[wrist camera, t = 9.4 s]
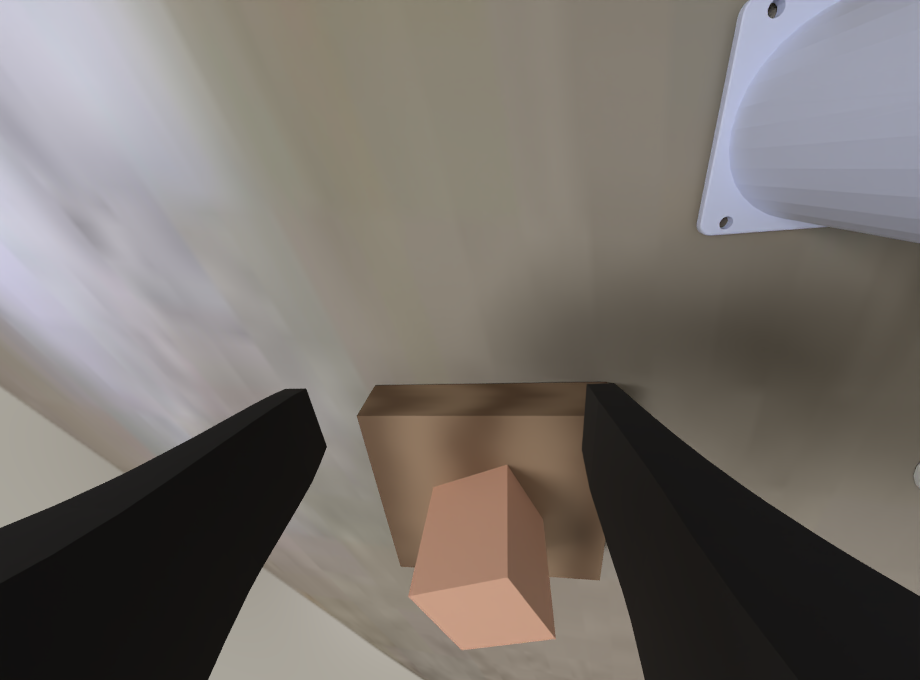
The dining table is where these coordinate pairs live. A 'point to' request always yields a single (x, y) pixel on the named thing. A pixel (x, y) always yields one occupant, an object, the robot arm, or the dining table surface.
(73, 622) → the robot arm
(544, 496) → the walnut base
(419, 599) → the terracotta block
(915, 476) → the chalice
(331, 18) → the dining table surface
